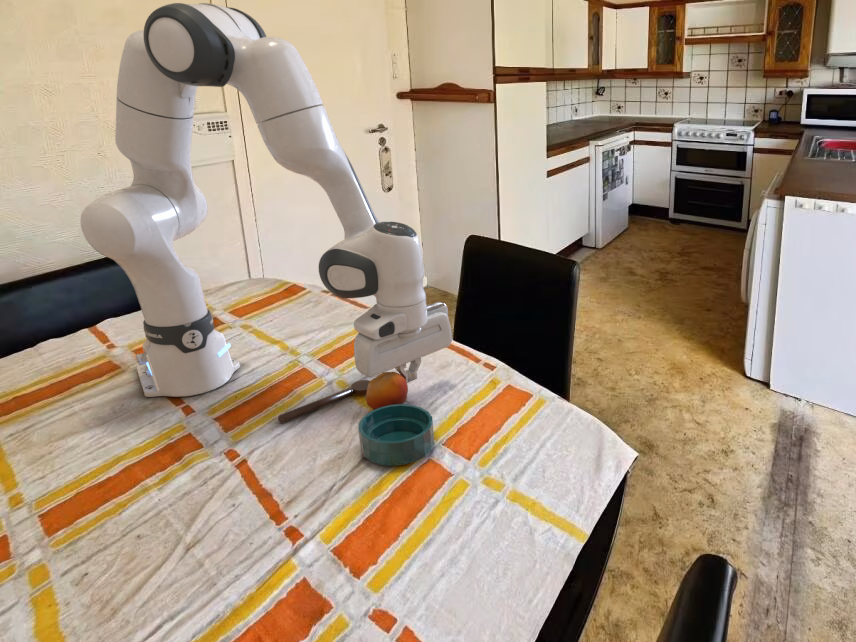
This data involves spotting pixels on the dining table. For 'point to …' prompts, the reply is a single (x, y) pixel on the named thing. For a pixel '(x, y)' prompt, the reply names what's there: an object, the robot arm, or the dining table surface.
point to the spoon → (326, 401)
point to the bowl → (396, 434)
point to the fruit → (386, 390)
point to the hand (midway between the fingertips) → (409, 380)
